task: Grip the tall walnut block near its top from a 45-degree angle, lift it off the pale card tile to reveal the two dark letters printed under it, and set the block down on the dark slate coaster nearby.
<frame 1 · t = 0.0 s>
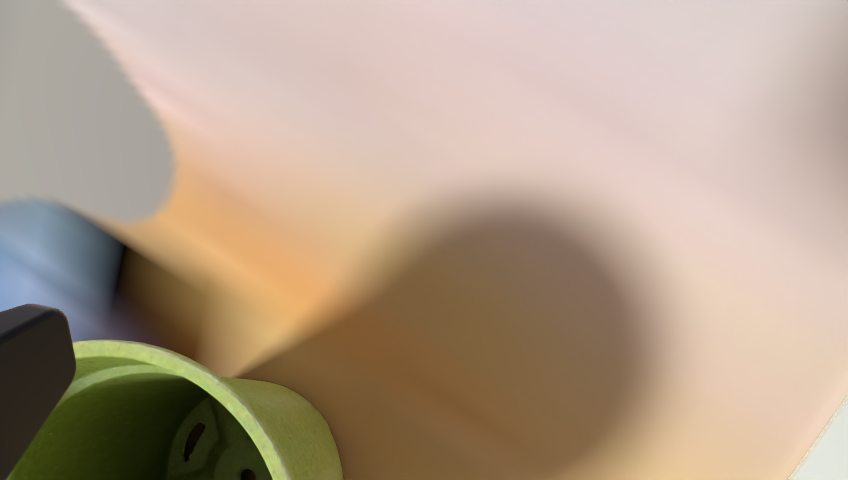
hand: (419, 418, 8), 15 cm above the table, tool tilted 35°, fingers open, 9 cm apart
plant pot 2: (259, 473, 24), on the table
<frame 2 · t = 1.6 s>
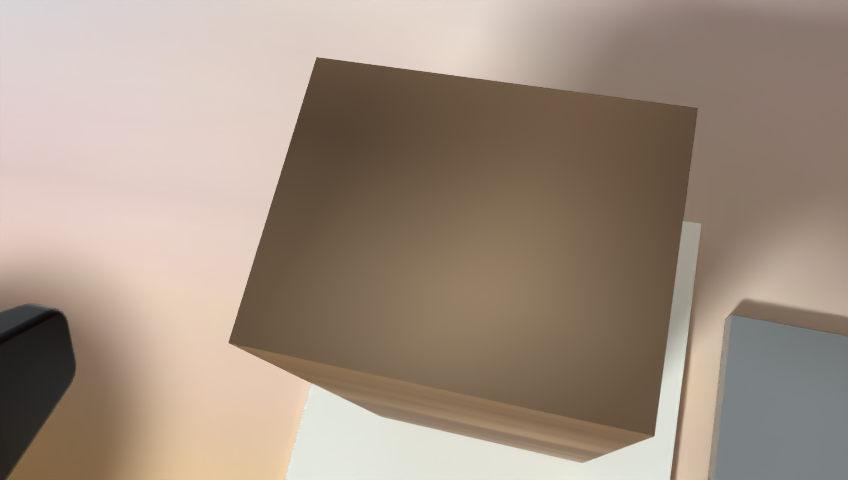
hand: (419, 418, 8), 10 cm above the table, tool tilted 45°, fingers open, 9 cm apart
code tile: (495, 360, 19), on the table
block: (495, 358, 18), resting on code tile
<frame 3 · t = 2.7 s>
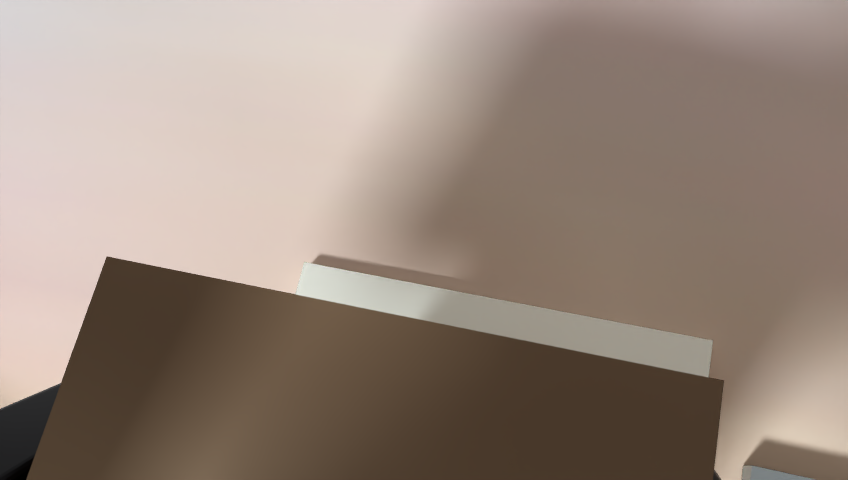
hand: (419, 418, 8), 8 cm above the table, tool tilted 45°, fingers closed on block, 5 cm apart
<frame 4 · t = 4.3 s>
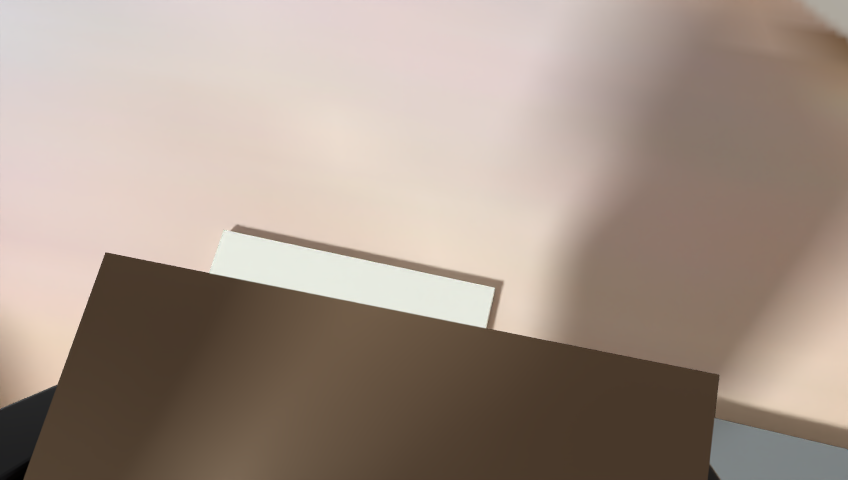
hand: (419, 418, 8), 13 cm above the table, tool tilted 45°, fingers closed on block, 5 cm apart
code tile: (315, 401, 22), on the table
when the fingers open (8 cm above the table, at t = 6.0 s): block stays where it is, resting on coaster.
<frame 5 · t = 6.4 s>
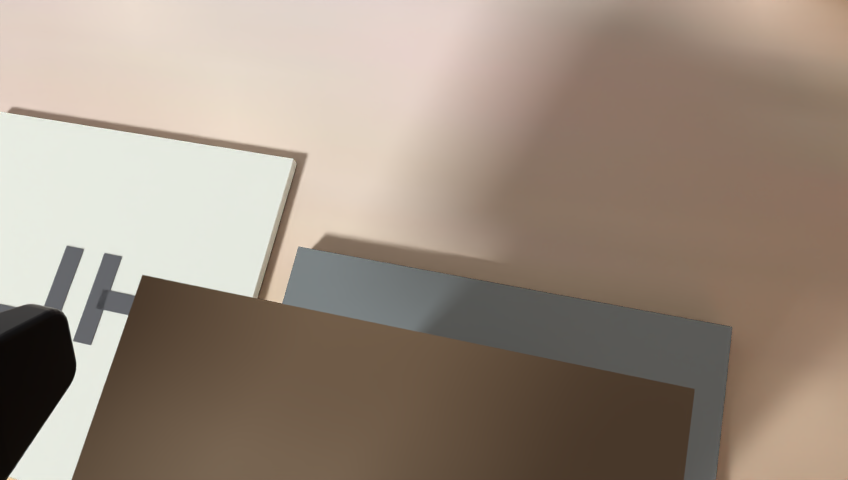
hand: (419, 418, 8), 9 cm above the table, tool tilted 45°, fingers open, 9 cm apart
code tile: (85, 297, 19), on the table
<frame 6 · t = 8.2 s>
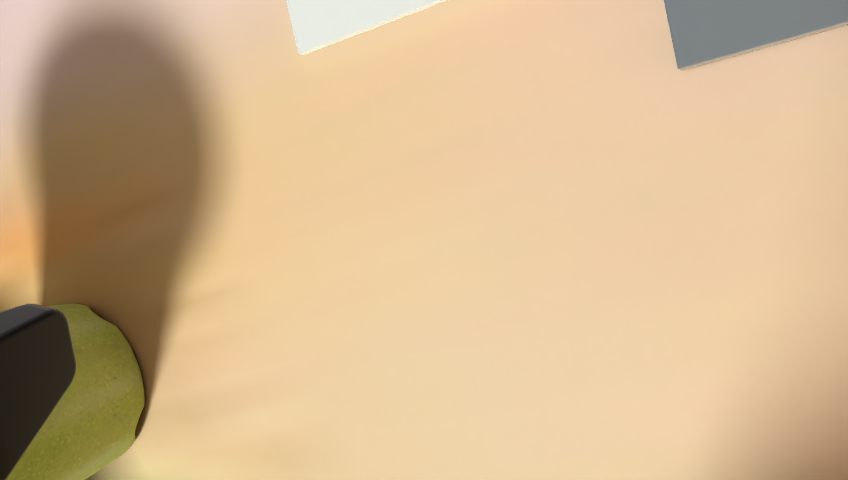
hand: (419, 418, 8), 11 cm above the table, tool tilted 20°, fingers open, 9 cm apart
plant pot 2: (97, 378, 28), on the table
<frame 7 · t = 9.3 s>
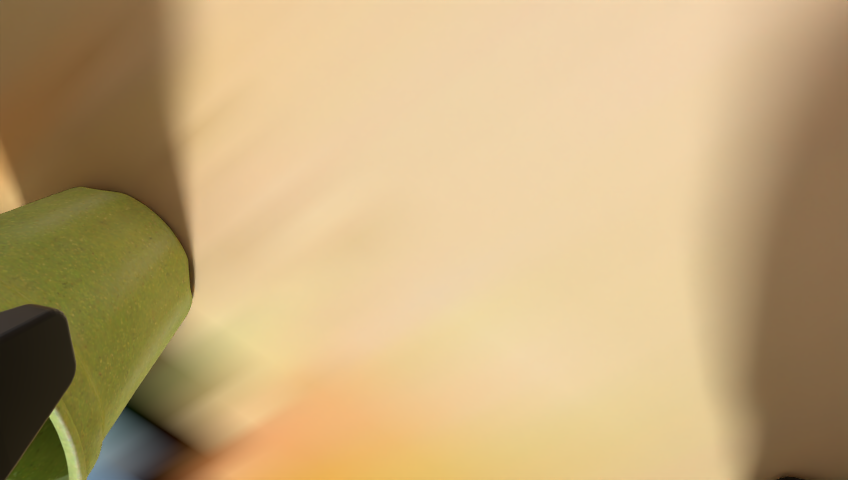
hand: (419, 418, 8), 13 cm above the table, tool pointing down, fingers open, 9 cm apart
plant pot 2: (123, 258, 26), on the table
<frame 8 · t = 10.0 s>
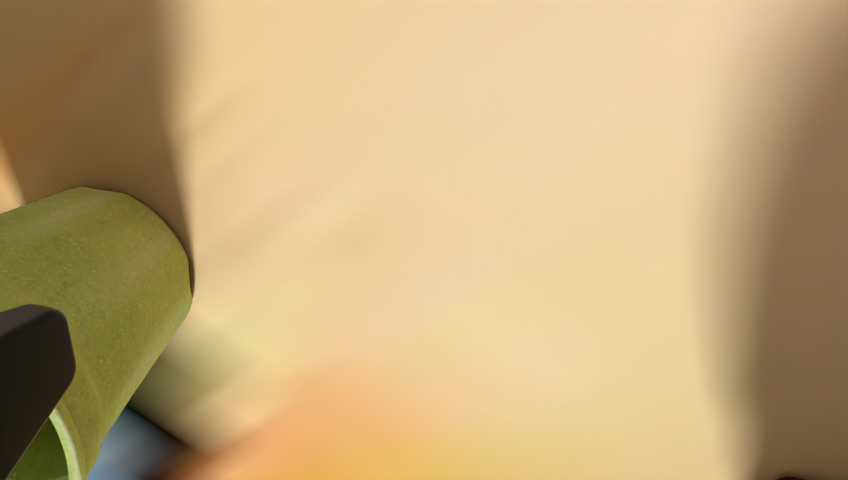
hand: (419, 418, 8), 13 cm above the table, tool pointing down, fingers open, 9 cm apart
plant pot 2: (123, 258, 26), on the table
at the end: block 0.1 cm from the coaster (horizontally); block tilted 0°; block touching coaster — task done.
